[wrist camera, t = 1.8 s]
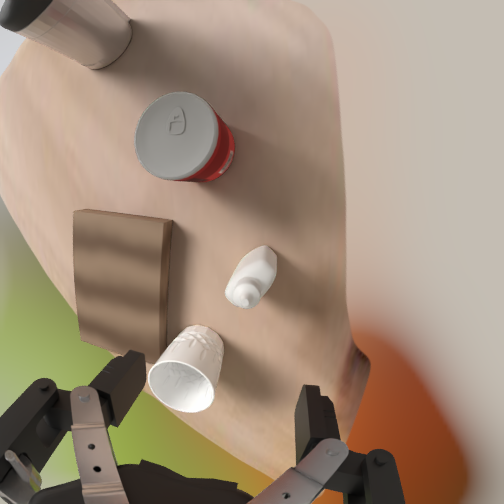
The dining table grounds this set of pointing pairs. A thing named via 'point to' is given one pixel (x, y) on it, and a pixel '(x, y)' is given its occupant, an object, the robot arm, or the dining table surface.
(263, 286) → the eye dropper bottle
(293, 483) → the robot arm
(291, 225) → the dining table surface
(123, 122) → the dining table surface
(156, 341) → the walnut base board
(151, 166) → the canned food
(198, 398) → the white cup
